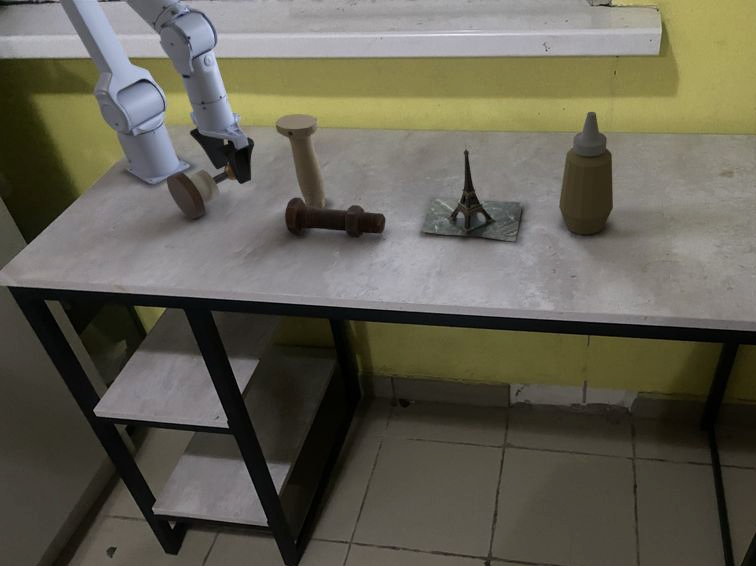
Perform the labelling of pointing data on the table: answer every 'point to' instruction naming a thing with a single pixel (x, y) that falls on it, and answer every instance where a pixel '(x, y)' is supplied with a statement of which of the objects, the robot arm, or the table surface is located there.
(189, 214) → the joystick
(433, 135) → the table surface
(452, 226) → the eiffel tower figurine
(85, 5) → the robot arm
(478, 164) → the table surface
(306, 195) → the handle
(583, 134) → the squeeze bottle
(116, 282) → the table surface
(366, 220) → the bolt
